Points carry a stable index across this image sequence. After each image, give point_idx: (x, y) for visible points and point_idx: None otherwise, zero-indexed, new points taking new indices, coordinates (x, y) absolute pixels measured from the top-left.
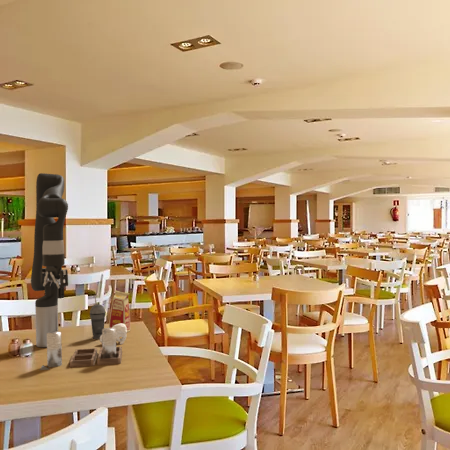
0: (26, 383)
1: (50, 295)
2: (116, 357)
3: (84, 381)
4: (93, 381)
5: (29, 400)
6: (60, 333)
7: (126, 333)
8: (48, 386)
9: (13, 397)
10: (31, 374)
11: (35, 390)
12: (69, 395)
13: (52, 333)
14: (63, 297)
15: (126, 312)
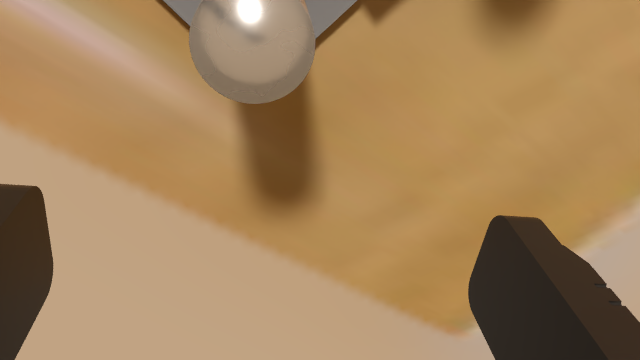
0: (349, 208)
1: (39, 199)
2: None
3: (576, 73)
4: (618, 52)
5: None
6: (308, 16)
7: None
8: (466, 187)
9: (435, 302)
10: (253, 127)
11: (452, 235)
12: (613, 207)
13: (264, 69)
14: (528, 225)
15: None
